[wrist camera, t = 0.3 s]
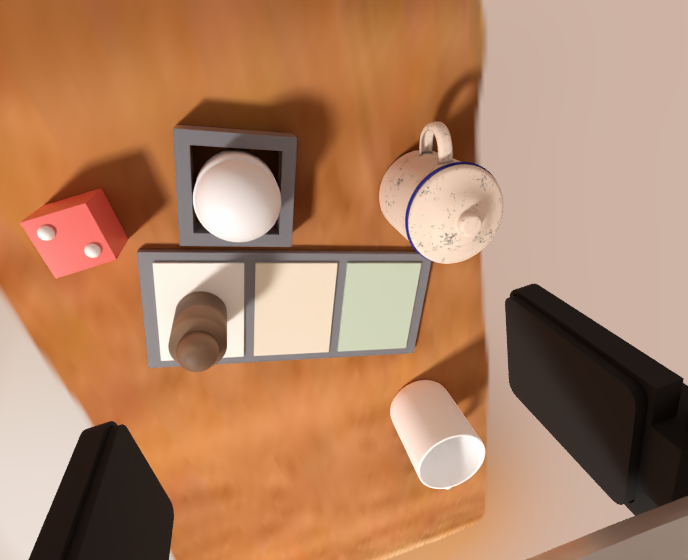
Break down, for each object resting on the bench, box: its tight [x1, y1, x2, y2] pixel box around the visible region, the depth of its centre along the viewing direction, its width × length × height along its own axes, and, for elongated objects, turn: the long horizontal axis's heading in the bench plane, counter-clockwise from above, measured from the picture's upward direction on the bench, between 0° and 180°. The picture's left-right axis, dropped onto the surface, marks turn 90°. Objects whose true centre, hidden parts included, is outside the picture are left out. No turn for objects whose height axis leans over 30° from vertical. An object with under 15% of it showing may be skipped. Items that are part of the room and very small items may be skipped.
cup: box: [390, 380, 485, 489], centre depth 55 cm, size 8×12×10 cm
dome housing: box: [173, 124, 297, 247], centre depth 40 cm, size 10×10×3 cm
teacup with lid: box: [379, 122, 503, 264], centre depth 40 cm, size 12×9×12 cm
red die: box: [20, 188, 128, 278], centre depth 37 cm, size 5×5×6 cm
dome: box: [193, 150, 281, 242], centre depth 36 cm, size 7×7×7 cm
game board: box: [137, 249, 431, 368], centre depth 47 cm, size 13×30×1 cm, turn 84°
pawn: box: [168, 291, 227, 372], centre depth 41 cm, size 5×5×9 cm
